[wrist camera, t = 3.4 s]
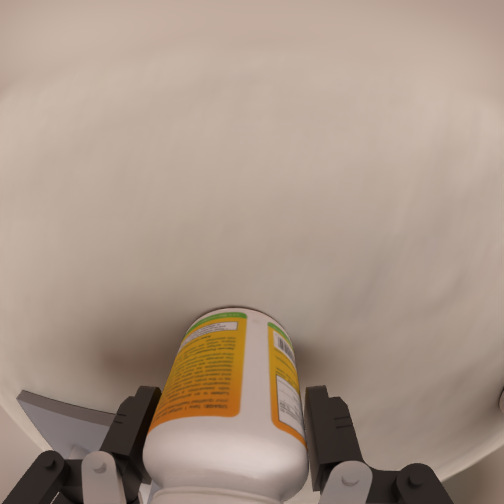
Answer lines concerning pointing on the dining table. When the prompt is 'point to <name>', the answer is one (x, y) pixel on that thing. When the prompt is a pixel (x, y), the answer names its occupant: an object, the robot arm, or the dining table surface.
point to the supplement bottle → (229, 416)
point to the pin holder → (72, 430)
